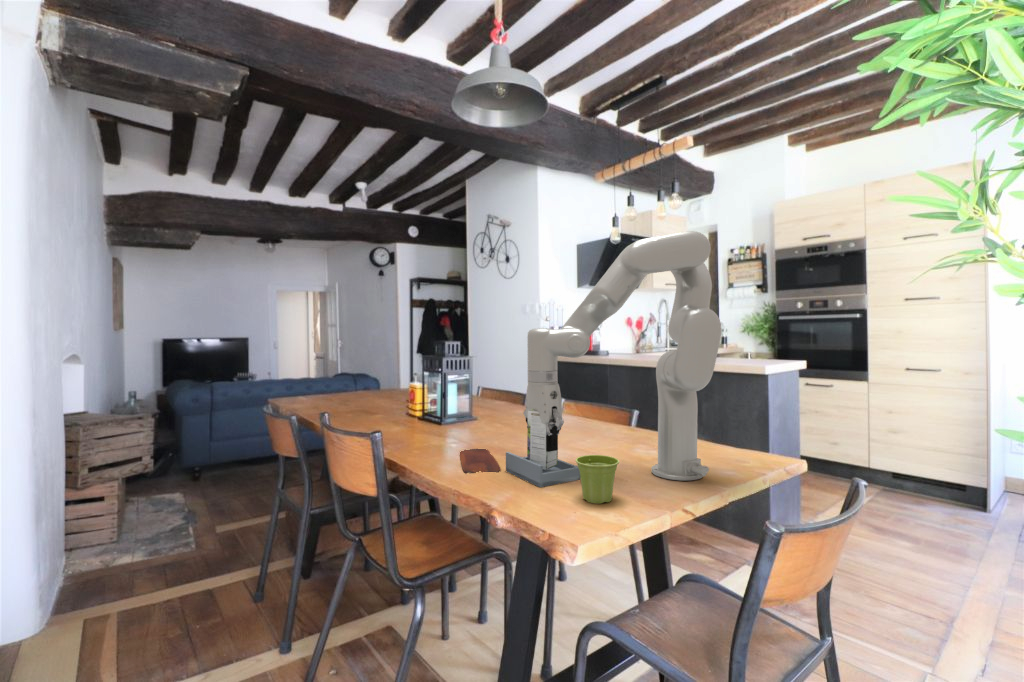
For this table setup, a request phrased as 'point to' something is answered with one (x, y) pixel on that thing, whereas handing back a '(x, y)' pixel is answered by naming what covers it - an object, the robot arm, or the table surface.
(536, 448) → the syrup box
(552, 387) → the robot arm
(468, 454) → the wooden tablet
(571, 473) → the tray
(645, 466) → the table surface
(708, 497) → the table surface
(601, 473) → the plant pot
